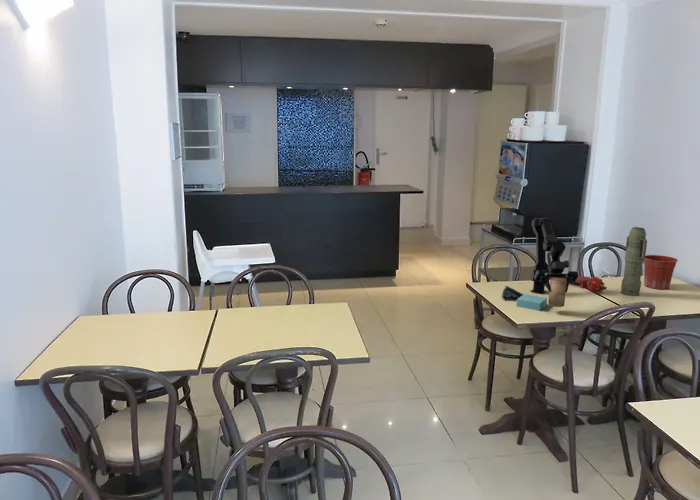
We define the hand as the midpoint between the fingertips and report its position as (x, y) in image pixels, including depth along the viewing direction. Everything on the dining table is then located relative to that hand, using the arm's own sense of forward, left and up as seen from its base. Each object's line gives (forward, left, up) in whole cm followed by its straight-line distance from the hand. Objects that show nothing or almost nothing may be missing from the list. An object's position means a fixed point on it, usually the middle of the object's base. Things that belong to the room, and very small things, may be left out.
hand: (558, 291), depth 251 cm
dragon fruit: (-48, +6, -11) cm, 50 cm away
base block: (-4, -13, -11) cm, 17 cm away
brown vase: (-1, -1, -7) cm, 7 cm away
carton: (-60, -10, -11) cm, 62 cm away
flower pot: (-80, +30, -11) cm, 86 cm away
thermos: (-56, +21, -11) cm, 61 cm away
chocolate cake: (-9, -25, -11) cm, 28 cm away
